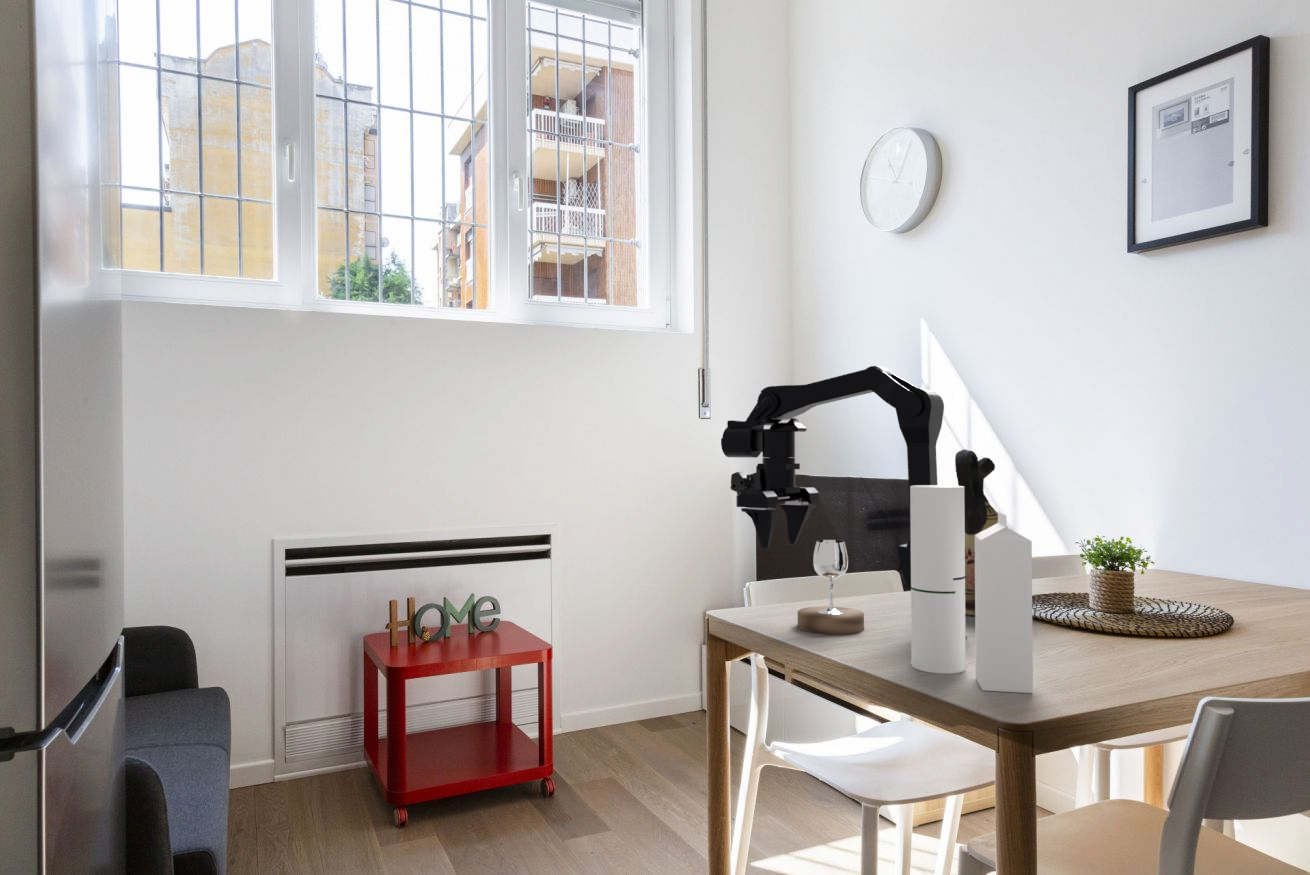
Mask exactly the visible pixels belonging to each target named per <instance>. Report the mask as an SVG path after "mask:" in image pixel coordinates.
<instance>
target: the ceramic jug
mask: <svg viewBox="0 0 1310 875" xmlns="http://www.w3.org/2000/svg"><path fill="white" fill-rule="evenodd" d="M954 462H955V466H954V467H955V472H956V479H957V484H958V485H957V486H964V508H965V576H964V577H965V587H966V588H965V615H967V616H975V535H976V534H978V533H980V532H982V531H984V530H986V529H987V528H989V527H991V526H993V525H995V524H997V523H998V511H997V510H996V509H995V508H994V507H993V506H992V505H991V503H990V502H989V500H988V498H987V496H986V495H985V493H984V482H985V479H986V478H987V477H988V476H989V475H991V474H992V472H993V471H995V470H996V469H995V468H996V466H995V463H994V461H993V460H992V459H991V458H989V457H983V458H980V459H979V458H978V456H977V453H975V451H973V450H968V449H961V450H959V451H957V452H956V453H955V460H954Z"/></svg>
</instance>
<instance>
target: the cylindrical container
mask: <svg viewBox="0 0 1310 875" xmlns="http://www.w3.org/2000/svg"><path fill="white" fill-rule="evenodd" d="M910 519H911V589H910V599H911V600H910V618H911V621H910V622H911V623H910V626H911V627H910V628H911V629H910V631H911V632H910V633H911V634H910V636H911V637H910V641H911V643H910V644H911V645H910V647H911V648H910V649H911V652H910V653H911V658H910V659H911V667H912V668H914V669H916V670H919V671H922V672H925V673H931V674H943V675H945V674H947V675H948V674H959V673H962V672H965V671H966V668H967V666H966V665H967V664H966V663H967V658H966V654H967V653H966V648H967V647H966V644H967V643H966V640H967V639H966V637H965V635H966V614H965V577H964V576H965V508H964V486H959V485H949V484H948V485H943V484H939V485H938V484H937V485H915V486H910V510H909V520H910Z"/></svg>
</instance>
